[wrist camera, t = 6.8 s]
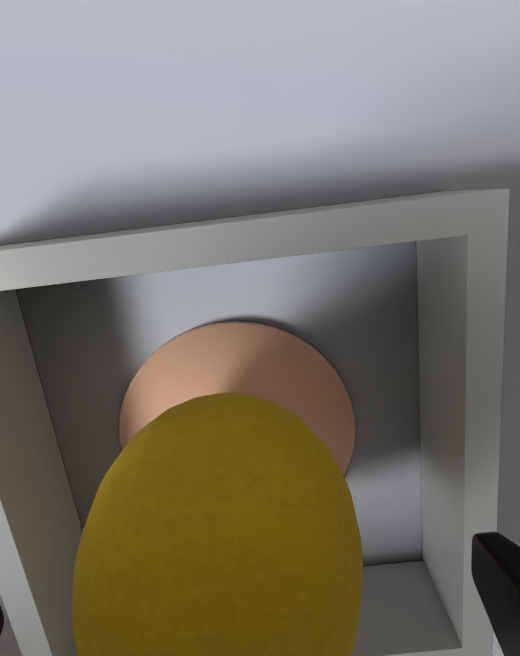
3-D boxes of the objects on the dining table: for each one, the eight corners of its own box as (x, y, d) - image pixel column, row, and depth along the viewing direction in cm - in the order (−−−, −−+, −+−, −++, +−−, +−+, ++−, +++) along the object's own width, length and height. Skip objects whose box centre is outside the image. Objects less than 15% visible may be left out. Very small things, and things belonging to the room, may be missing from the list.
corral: (446, 577, 15) (491, 667, 12) (81, 613, 15) (41, 708, 12) (446, 190, 12) (509, 188, 9) (-27, 248, 12) (-118, 264, 9)
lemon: (332, 350, 12) (454, 591, 5) (322, 518, 14) (401, 908, 6) (135, 347, 12) (-69, 585, 5) (145, 515, 14) (4, 907, 6)
